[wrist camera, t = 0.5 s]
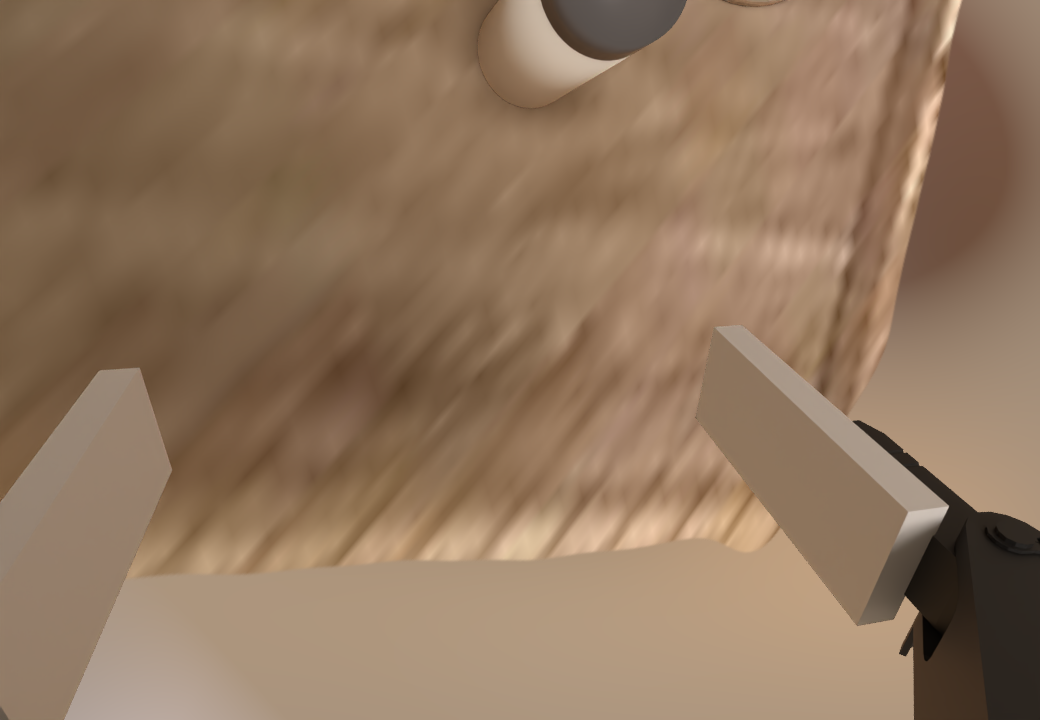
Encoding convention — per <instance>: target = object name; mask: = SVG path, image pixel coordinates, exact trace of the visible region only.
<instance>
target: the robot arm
mask: <svg viewBox="0 0 1040 720" xmlns="http://www.w3.org/2000/svg"><path fill="white" fill-rule="evenodd" d="M696 419H697V420H698V422H699V423H700V424H701V426H702V427H703V428H704V429H705V431H706V432H707V433H708V435H709V436H710V437H711V438H712V440H713V441H714V442H715V444H716V445H717V446H718V447H719V449H720V450H721V451H722V453H723V454H724V455H725V456H726V458H727V459H728V460H729V462H730V463H731V464H732V465H733V467H734V468H735V469H736V471H737V472H738V473H739V474H740V476H741V477H742V478H743V480H744V481H745V482H746V484H747V485H748V486H749V487H750V489H751V490H752V491H753V493H754V494H755V495H756V496H757V498H758V499H759V500H760V502H761V503H762V504H763V505H764V507H765V508H766V509H767V511H768V512H769V513H770V514H771V516H772V517H773V518H774V520H775V521H776V522H777V523H778V525H779V526H780V527H781V529H783V531H784V532H785V534H786V535H787V536H788V538H789V539H790V540H791V541H792V543H793V544H794V545H795V547H796V548H797V549H798V550H799V552H800V553H801V554H802V556H803V557H804V558H805V559H806V561H807V562H808V563H809V565H810V566H811V567H812V569H813V570H814V571H815V572H816V574H817V575H818V576H819V578H820V579H821V580H822V581H823V583H824V584H825V585H826V587H827V588H828V589H829V590H830V592H831V593H832V594H833V596H834V597H835V598H836V599H837V601H838V602H839V603H840V605H841V606H842V607H843V608H844V610H845V611H846V612H847V614H848V615H849V616H850V617H851V619H852V620H853V621H854V623H855V624H856V625H857V626H859V625H865V624H871V623H876V622H882V621H887V620H893V619H894V618H895V616H896V614H897V612H898V610H899V608H900V606H901V603H902V601H903V599H904V597H905V596H906V597H907V598H908V599H909V600H910V601H911V602H912V604H913V605H914V606H915V607H916V608H917V609H918V610H919V613H918V615H917V617H916V619H915V621H914V623H913V625H912V627H911V629H910V630H909V632H908V634H907V636H906V639H905V640H904V642H903V644H902V647H901V650H900V652H899V654H901V655H903V656H906V655H907V653H908V652H909V650H910V648H911V647H913V660H914V720H1040V531H1038V530H1037V529H1035V528H1033V527H1032V526H1030V525H1028V524H1027V523H1025V522H1023V521H1020V520H1018V519H1015V518H1012V517H1010V516H1007V515H1003V514H998V513H993V512H977V511H975V510H974V509H973V508H972V507H971V506H970V505H968V504H967V503H966V502H965V501H964V500H962V499H961V498H960V497H959V496H957V495H956V494H955V493H954V492H953V491H952V490H951V489H949V488H948V487H947V486H946V485H945V484H943V483H942V482H941V481H940V480H939V479H938V478H936V477H935V476H934V475H933V474H932V473H930V472H929V471H928V470H927V469H926V468H924V467H923V466H919V463H918V462H917V461H916V460H915V459H914V458H913V457H911V456H910V455H909V454H908V453H903V449H902V448H901V447H900V446H898V445H897V444H896V443H895V442H894V441H892V440H891V439H890V438H889V437H888V436H886V435H885V434H884V433H882V432H880V431H878V430H876V429H874V428H873V427H871V426H869V425H867V424H865V423H863V422H861V421H859V420H857V421H851V420H850V419H849V418H848V417H847V416H845V415H844V414H843V413H842V412H841V411H840V410H839V409H837V408H836V407H835V406H834V405H833V404H832V403H831V402H829V401H828V400H827V399H826V398H825V397H824V396H823V395H821V394H820V393H819V392H818V391H817V390H816V389H815V388H813V387H812V386H811V385H810V384H809V383H808V382H807V381H805V380H804V379H803V378H802V377H801V376H800V375H799V374H797V373H796V372H795V371H794V370H793V369H792V368H791V367H789V366H788V365H787V364H786V363H785V362H784V361H783V360H781V359H780V358H779V357H778V356H777V355H776V354H774V353H773V352H772V351H771V350H770V349H769V348H768V347H766V346H765V345H764V344H763V343H762V342H761V341H760V340H758V339H757V338H756V337H755V336H754V335H753V334H752V333H750V332H749V331H748V330H747V329H746V328H745V327H744V326H742V325H735V326H721V327H714V329H713V334H712V339H711V344H710V349H709V354H708V359H707V364H706V369H705V374H704V378H703V383H702V388H701V393H700V398H699V403H698V408H697V413H696ZM171 472H172V468H171V465H170V462H169V459H168V456H167V452H166V449H165V446H164V443H163V440H162V437H161V434H160V430H159V427H158V424H157V421H156V418H155V415H154V412H153V408H152V405H151V402H150V399H149V396H148V393H147V390H146V386H145V383H144V380H143V377H142V374H141V371H140V368H127V369H112V370H99V371H98V373H97V374H96V375H95V377H94V378H93V379H92V381H91V382H90V383H89V385H88V386H87V387H86V389H85V390H84V391H83V393H82V394H81V395H80V397H79V398H78V399H77V401H76V402H75V403H74V405H73V406H72V407H71V409H70V410H69V411H68V413H67V414H66V415H65V417H64V418H63V419H62V421H61V422H60V423H59V425H58V426H57V427H56V429H55V430H54V431H53V433H52V434H51V435H50V437H49V438H48V439H47V441H46V442H45V443H44V445H43V446H42V447H41V449H40V450H39V451H38V453H37V454H36V455H35V457H34V458H33V459H32V461H31V462H30V463H29V465H28V466H27V467H26V469H25V470H24V471H23V473H22V474H21V475H20V477H19V478H18V479H17V481H16V482H15V483H14V485H13V486H12V487H11V489H10V490H9V491H8V493H7V494H6V495H5V497H4V498H3V499H2V501H1V502H0V720H64V718H65V716H66V714H67V712H68V709H69V707H70V704H71V702H72V700H73V698H74V695H75V693H76V691H77V688H78V686H79V684H80V682H81V679H82V677H83V675H84V672H85V670H86V668H87V665H88V663H89V661H90V658H91V656H92V654H93V652H94V649H95V647H96V645H97V642H98V640H99V638H100V635H101V633H102V631H103V628H104V626H105V624H106V622H107V619H108V617H109V614H110V612H111V610H112V608H113V605H114V603H115V601H116V598H117V596H118V594H119V592H120V589H121V587H122V584H123V582H124V580H125V578H126V575H127V573H128V571H129V568H130V566H131V564H132V562H133V559H134V557H135V555H136V552H137V550H138V548H139V545H140V543H141V541H142V538H143V536H144V534H145V532H146V529H147V527H148V525H149V522H150V520H151V518H152V515H153V513H154V511H155V508H156V506H157V504H158V502H159V499H160V497H161V495H162V492H163V490H164V488H165V485H166V483H167V481H168V478H169V476H170V474H171Z"/></svg>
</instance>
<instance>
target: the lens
mask: <svg viewBox="0 0 1040 720" xmlns="http://www.w3.org/2000/svg"><path fill="white" fill-rule="evenodd" d="M686 1H687V0H498V2H497V3H496V4H495V6H494V7H493V8H492V10H491V11H490V12H489V13H488V15H487V16H486V18H485V20H484V21H483V24H482V26H481V29H480V32H479V37H478V46H477V50H478V59H479V64H480V67H481V70H482V73H483V75H484V77H485V79H486V81H487V82H488V84H489V85H490V87H491V88H492V89H493V90H494V92H495V93H496V94H497V95H498V96H500V97H501V98H502V99H503V100H505V101H507V102H508V103H510V104H513V105H515V106H518V107H522V108H540V107H543V106H546V105H548V104H551V103H552V102H554V101H556V100H557V99H559V98H561V97H562V96H564V95H566V94H567V93H569V92H571V91H572V90H574V89H576V88H577V87H579V86H581V85H582V84H584V83H586V82H587V81H589V80H591V79H592V78H594V77H596V76H597V75H599V74H601V73H602V72H604V71H606V70H607V69H609V68H611V67H612V66H614V65H616V64H617V63H619V62H621V61H622V60H624V59H626V58H627V57H629V56H631V55H632V54H634V53H636V52H637V51H639V50H641V49H642V48H644V47H646V46H647V45H649V44H651V43H652V42H654V41H656V40H657V39H659V38H660V37H661V36H663V35H664V34H665V33H666V32H668V31H669V30H670V29H671V28H672V26H673V25H674V24H675V23H676V21H677V20H678V18H679V16H680V15H681V13H682V11H683V9H684V6H685V4H686Z"/></svg>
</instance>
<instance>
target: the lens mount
mask: <svg viewBox="0 0 1040 720" xmlns="http://www.w3.org/2000/svg"><path fill="white" fill-rule="evenodd" d="M724 1H726V2H729V3H733V4H737V5H742V6H756V7H758V6H766V5H772V4H776V3H779V2H782V1H785V0H724Z"/></svg>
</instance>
